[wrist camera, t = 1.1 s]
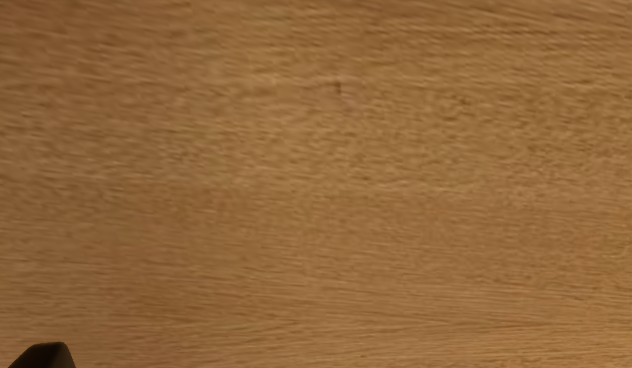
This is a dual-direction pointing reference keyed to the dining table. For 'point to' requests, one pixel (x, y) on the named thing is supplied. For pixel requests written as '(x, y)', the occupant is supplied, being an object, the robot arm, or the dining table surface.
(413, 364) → the dining table surface
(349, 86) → the dining table surface
